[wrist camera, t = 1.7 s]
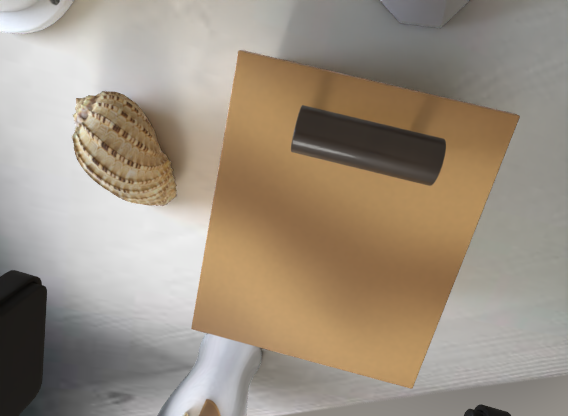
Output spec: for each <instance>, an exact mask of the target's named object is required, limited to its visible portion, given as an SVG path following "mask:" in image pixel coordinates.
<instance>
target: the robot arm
mask: <svg viewBox="0 0 568 416" xmlns="http://www.w3.org/2000/svg"><path fill="white" fill-rule="evenodd" d="M72 2H73V0H60V1H59V0H0V32H3V33H12V34H27V33H32V32H36V31H40V30H42V29H44V28H46V27H48V26H50V25H52V24H53V23H55V22H56V21H57V20H58V19H60V18H61V17H62V16H63V15H64V14H65V12H66V11H67V10H68V8H69V7H70V6H71V4H72ZM46 300H47V289H46V287H45V286H43V285H42V283H41V280H40V278H38V277H36V276H33V275H29V274H26V273H22V272H19V271H15V270H11V271H9V272H7V273H5V274H4V275H2V276H1V277H0V416H19V414H20V413H21V412H22V411H23V410H24V409H25V408H26V407H27V406H28V405H29V404H30V402H31V401H32V400H33V399H34V398H35V397H36V395H37V393H38V392H39V389H40V387H41V384H42V375H43V356H44V337H45V318H46ZM464 416H511V415H510V414H509V413H508V412H506V411H502V410H499V409H495V408H492V407H488V406H485V405H478V406H477V407H476V408H475V409H474V410H473V409H468V410H467V411H466V412H465V414H464Z"/></svg>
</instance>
